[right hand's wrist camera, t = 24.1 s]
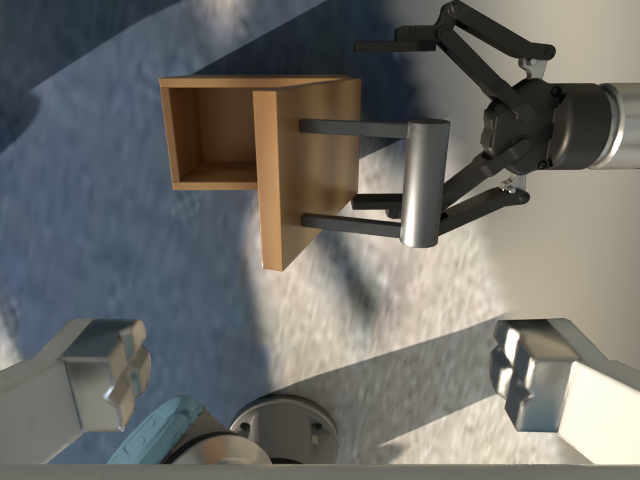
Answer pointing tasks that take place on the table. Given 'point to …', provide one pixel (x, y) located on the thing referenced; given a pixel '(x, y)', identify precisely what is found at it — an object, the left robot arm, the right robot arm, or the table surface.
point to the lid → (336, 168)
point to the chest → (216, 127)
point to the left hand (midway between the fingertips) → (352, 129)
